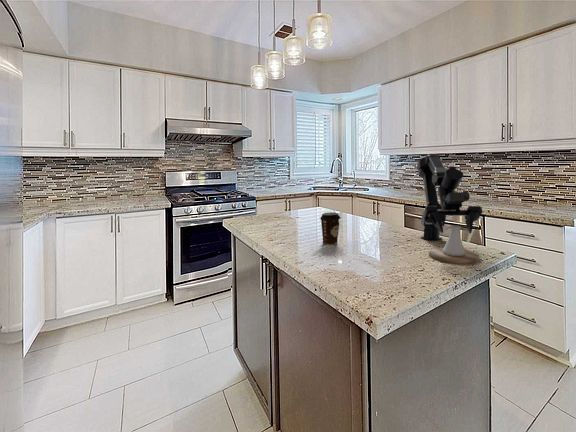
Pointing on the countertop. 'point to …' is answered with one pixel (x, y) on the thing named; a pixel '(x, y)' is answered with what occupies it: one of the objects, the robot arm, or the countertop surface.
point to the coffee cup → (330, 227)
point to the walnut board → (454, 257)
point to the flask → (454, 243)
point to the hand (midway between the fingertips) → (456, 232)
